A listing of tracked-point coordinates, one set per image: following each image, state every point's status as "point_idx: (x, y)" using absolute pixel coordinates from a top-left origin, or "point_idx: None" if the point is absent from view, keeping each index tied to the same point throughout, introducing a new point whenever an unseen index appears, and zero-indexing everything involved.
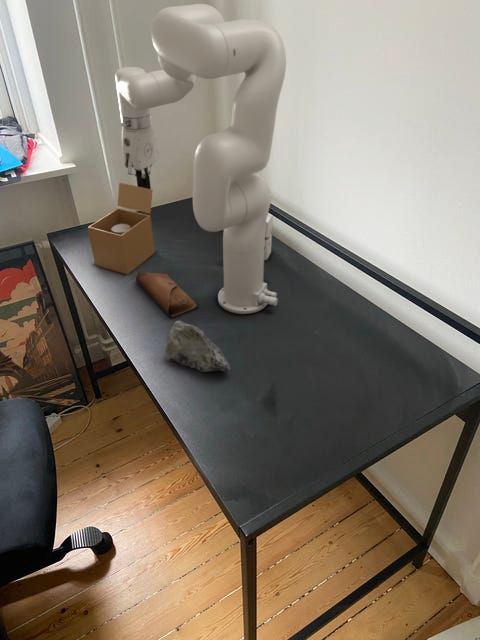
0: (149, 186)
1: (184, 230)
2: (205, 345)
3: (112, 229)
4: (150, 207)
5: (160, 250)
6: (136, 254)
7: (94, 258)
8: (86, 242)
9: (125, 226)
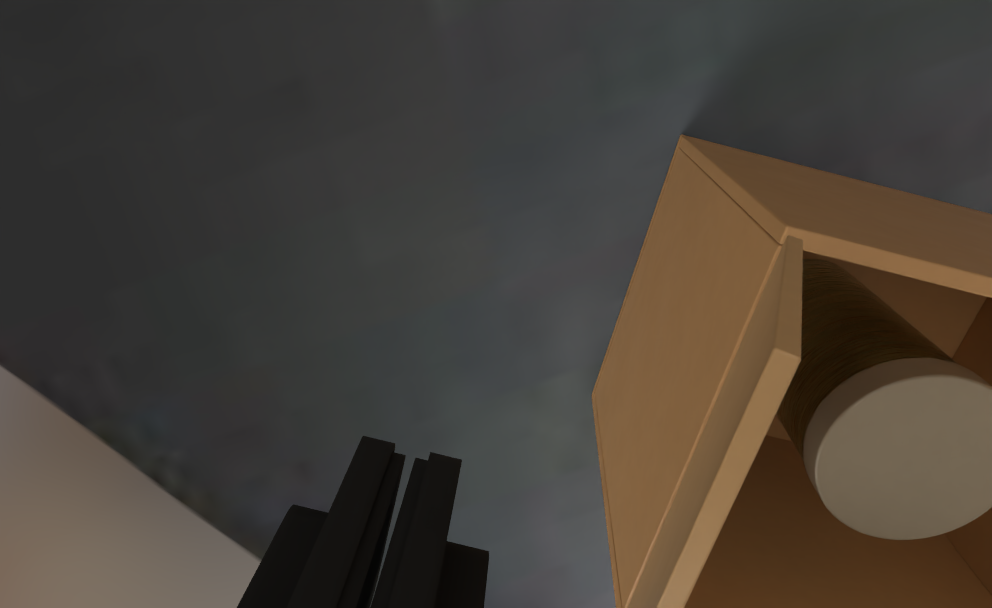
0: (380, 477)
1: (251, 8)
2: None
3: (951, 524)
4: (797, 257)
5: (635, 100)
6: (957, 218)
7: None
8: (607, 601)
9: (881, 433)
